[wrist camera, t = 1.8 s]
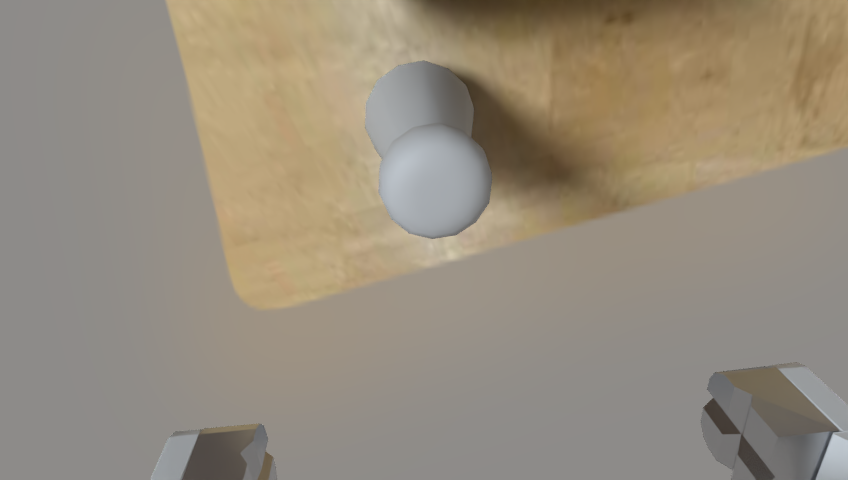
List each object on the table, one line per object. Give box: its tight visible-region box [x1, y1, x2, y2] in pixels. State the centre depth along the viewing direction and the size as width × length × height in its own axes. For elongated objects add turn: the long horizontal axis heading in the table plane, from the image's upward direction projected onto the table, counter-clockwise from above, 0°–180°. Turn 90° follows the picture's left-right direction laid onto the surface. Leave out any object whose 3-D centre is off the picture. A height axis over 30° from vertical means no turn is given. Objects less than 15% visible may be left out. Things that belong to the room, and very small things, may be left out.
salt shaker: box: [365, 61, 492, 239], centre depth 25 cm, size 6×6×13 cm
